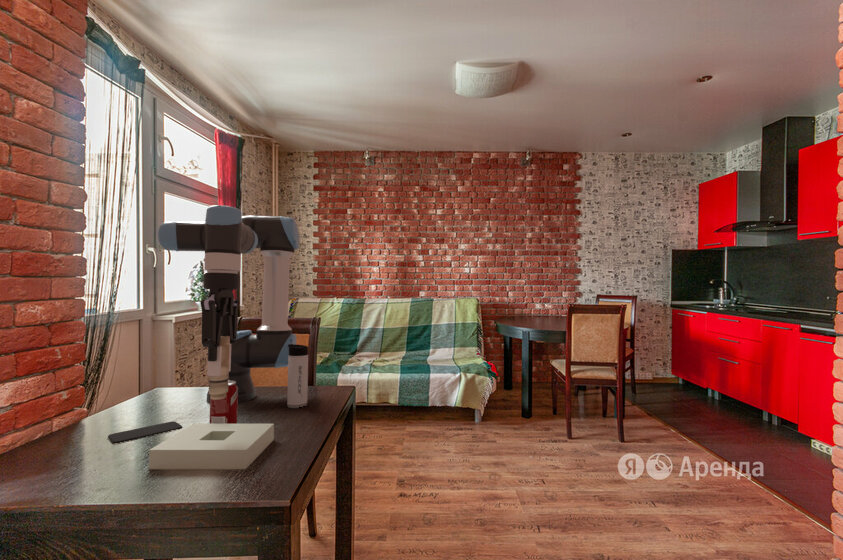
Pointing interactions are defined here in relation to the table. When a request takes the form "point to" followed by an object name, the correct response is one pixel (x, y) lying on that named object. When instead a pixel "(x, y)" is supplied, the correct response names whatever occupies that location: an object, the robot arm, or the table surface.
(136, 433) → the phone
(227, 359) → the peg
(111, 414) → the table surface
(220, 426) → the board
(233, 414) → the soda can
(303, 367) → the travel mug
